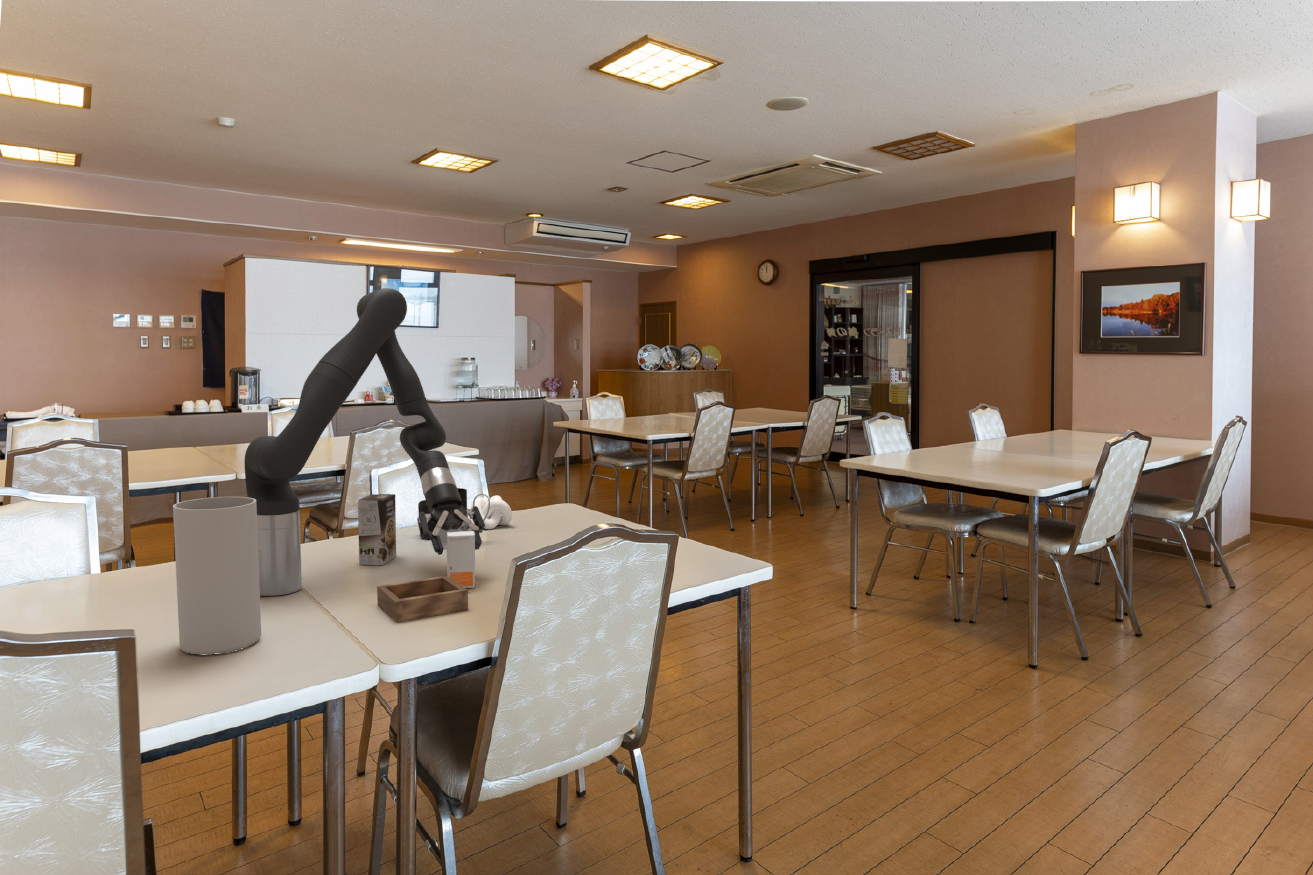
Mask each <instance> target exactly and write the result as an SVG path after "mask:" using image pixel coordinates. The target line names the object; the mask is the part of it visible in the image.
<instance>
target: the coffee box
mask: <svg viewBox="0 0 1313 875" xmlns="http://www.w3.org/2000/svg"><path fill="white" fill-rule="evenodd" d="M357 508H358V509H357V515H358V516H357V517H358V518H357V519H358V521H357V522H358V523H357V524H358V565H362V566H364V565H365V566H367V565H369V566H385V564H387V563H389V562H390V561H392V560H393V559H394V558H396V557H397V523H396V522H397V519H396V518H397V517H396V514H397V513H396V512H397V511H396V508H397V507H396V493H395V494H394V493H392V494H390V493H379V494H375V493H374V494H370V495H367V496H364V497H362V498H360V499H358V500H357Z"/></svg>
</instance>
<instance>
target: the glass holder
mask: <svg viewBox="0 0 1313 875" xmlns="http://www.w3.org/2000/svg"><path fill="white" fill-rule="evenodd" d="M457 489H458V492H459V495H460V498H461V501H462V505H463V507H464V508H465V509H466V510H468V509H469V508H468V490H467V489H466V488H460V487H457ZM480 496H484V497H486V498H487V501H488V502H489V505H488V511H487V513H486V516H485V517H484V519H483V521H485V519H486V517H487V515H488V513H489V509H490V497H489V496H488V495H487V494H484V493H479V494H477V495H476V496H474V498H473V501H472V503H473V507H474V506H475V500H476V498H478V497H480ZM470 509H473V508H470ZM466 517H467V518H469V517H468V515H466ZM462 524H464V525H465V523H464V522H463V523H462ZM461 531H462V530H461V529H460V528H458V529H455V530H454V529H450V530H447V531H445V530H443V529H441V531H440V532H439V534H438V536H440V539H441V542H442V546H443V549H444V550H447V532H461Z"/></svg>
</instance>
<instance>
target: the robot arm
mask: <svg viewBox="0 0 1313 875" xmlns="http://www.w3.org/2000/svg"><path fill="white" fill-rule="evenodd" d="M407 311H408V304H407V301H406V298H405V296H404V295H403V294H402V293H401V291H399V290H397V289H394V288H390V287H386V288H379V289H376V290H374V291H371V292H370V293H369V292H368V293H367V294H365V295H363V296H362V297H361V298H360V299H359V300H358V302H357V305H356V315H357V318H358V320H357V322H356V323H355V325H354V326H353V327H352V329H351V330H350V331H349V332H348V333H346V335H344V336H343V337H342V338H341V339H340V340H339V341H338V342H336V343H335V344H334V345H333V346H331V348H329V350H328V351H327V352H326V353H325V354H324V355H323V356H322V357H321V358H320V359H319V361H318V362H317V363H316V365H315V366H314V368H313V369H312V370H311V372H310V373H309V374H308V376H307V377H306V379H305V381H304V383H303V387H302V389H301V392H300V397H299V403H298V406H297V409H296V411H295V413H294V415H293V416H292V418H291V419H290V421H289V422H288V423H287V425H286V426H285V427H284V429H283V430H282V431H281V432H280V433H279V434H278V435H277V436H274V435H263V436H262V435H261V436H259V437H256V438H254V439H253V440H252V441H251V442H249V444H248V446H247V448H246V450H245V454H244V477H245V487H246V488H245V489H246V490H245V491H246V497H248V498H253V499H256V508H257V535H258V562H259V588H260V597H265V596H266V597H267V596H268V597H269V596H270V597H271V596H272V597H273V596H275V597H276V596H282V595H283V596H284V595H288V594H292V593H296V592H299V591H300V590H301V589H302V588H303V584H302V583H303V581H302V580H303V575H302V552H301V550H302V549H301V548H302V547H301V546H302V545H301V521H300V520H301V518H300V515H301V513H300V500H299V497H298V495H297V494H296V493H295V492H294V490H293V489H292V487H291V484H290V480H292V479H293V478H296V477H297V476H298V475H299V474H300V472H302V470H303V468H304V467H305V465H306V464H307V461H308V460H309V458H310V456H311V454H312V452H313V451H314V449H315V447H316V445H317V443H318V441H319V440H320V438H321V436H322V434H323V433H324V432H325V430H326V429H327V427H328V426H329V425H330V423H331V422H332V420H333V419H334V417H335V416H336V414H337V413H338V411H339V409H340V408H341V407H342V405H343V404H344V403H345V402H346V401H347V399H348V397H349V396H350V394H351V393H352V392H353V390H354V389H355V387H356V386H357V384H358V382H359V381H360V380H361V378H362V376H363V375H364V374H365V372H366V370H368V367H369V366H370V364H372V361H373V360H374V358H375V356H377V358H378V360H379V362H380V364H381V367H382V369H383V372H384V374H385V376H386V378H387V382H388V384H389V388H390V390H391V393H392V396H393V399H394V402H395V405H396V408H397V411H398V413H399V414H400V416H402V417H411V416H419V417H421V418H423V419H424V420H425V421H421V422H419V423H416V424H413V425H409V426H406V427H404V428H403V429H402V430H401V431H400V434H399V442H400V445H401V447H402V449H403V450H404V451H405V453H406V454H407V455H408V456H409V457H410V459H411V460H412V462H413V464H414V465H415V467H416V470H417V473H418V476H419V479H420V483H421V489H422V494H423V496H424V500H426V503H427V506H428V509H429V512H430V514H425V513H424V512H420V514H419V513H418V515H417V525H418V529H419V536H420V535H421V537H420V539H421V540H422V541H426V539H428V541H430V542H431V544H432V547H433V550H434V552H435V553H437V555H439V556H440V555H443V553H444V550H445V549H443V546H442V542H441V539H440V536H438V534H439V532H440V531H441V529H443V530H445V531H447V530H450V529H454V530H455V529H458V528H460V529H461V530H462V531H474V533H475V551H477V550H479V549H480V548H481V545H482V543H483V541H482V537H481V535H480V534H481V533H483V531H484V530H485V529H484V527H485V523H484V521H483V519H482V516H481V514H480V512H479V509H478V507H477V506H474V507H473V509H471V508H468V510H466V509H465V508H464V507H463V505H462V501H461V498H460V495H459V492H458V489H457V488H458V486H457V484H456V481H455V478H454V476H453V474H452V472H451V469H450V465H449V464H448V460H447V458H446V455H445V454H444V453H443V452H442V451H440V450H435V449H438V448H441V447H443V446H444V445H445V443H446V440H447V434H446V430H445V429H444V427H443V425H442V424H441V423H440V421H439V420H438V419H437V417H436V415H435V414H434V412H433V411H432V409H431V407H430V404H429V402H428V400H427V397H426V394H425V391H424V388H423V386H422V385H423V384H422V383H421V380H420V378H419V375H418V373H417V372H416V370H415V367H413V365H412V363H411V361H410V360H409V359H408V357H407V356H406V355H405V353H404V352H403V349H402V347H401V345H400V344H399V342H398V338H397V335H396V329H397V328H399V327H400V325H401V324H402V323H403V322H404V321H405V318H406V316H407V314H408V313H407ZM466 515H468V516H469V517H468V518H467V517H466ZM429 519H430V520H431V521H432V522H433V523H434V524H436V527H435V529H434V531H433V532H430V531H429V529H428V524H427V523H428V521H429ZM463 522H464V523H465V525H464V524H462V523H463Z"/></svg>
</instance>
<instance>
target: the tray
mask: <svg viewBox="0 0 1313 875" xmlns="http://www.w3.org/2000/svg"><path fill="white" fill-rule="evenodd" d="M376 589H377V590H376V591H377V593H376V595H377V598H376V599H377V602H376V603H377V606H378V607H379V608H380V609H381V610H382V611H383V612H384V613H385V614H386V615H388V617H390V618H391V619H392V620H393V621H394V622H395V623H400V622H406V621H412V620H416V619H417V618H418V619H423V618H428V617H434V616H440V615H444V614H450V612H451V613H455V612H456V611H457V612H461V611H466V610H469V590H468V588H464V587H463V586H461V585H459V584H458V583H456V582H455V581H453V580H452V579H450V578H449V577H447V575H443V576H436V577H429V578H422V579H416V580H408V581H402V582H396V583H390V584H383V585H382V584H381V585H377V586H376ZM457 612H456V613H457ZM418 619H417V620H418Z"/></svg>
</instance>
